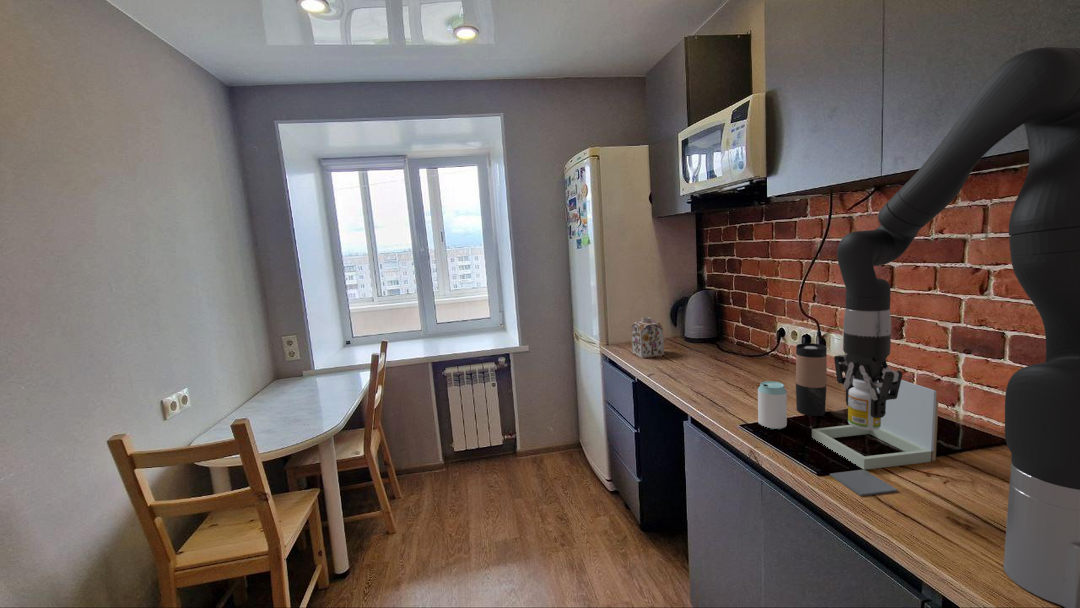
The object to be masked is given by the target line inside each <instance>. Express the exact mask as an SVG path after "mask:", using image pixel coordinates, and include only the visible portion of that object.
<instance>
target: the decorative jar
mask: <svg viewBox="0 0 1080 608" xmlns="http://www.w3.org/2000/svg"><path fill="white" fill-rule="evenodd" d="M630 327H631V329H630V331H631V333H630V334H631V350H632V351H631V352H632V354H633V355H635V354H636V356H637V357H638V358H641V359H647V357H648V358H654V357H655V356H656V357H663V356H662V355H664V356H665V341H664V340H665V339H664V328H663V326H662V324H661V323H660V321H657V320H654V319H652V317H649V316H644V317H643V316H642V317H641V318H640V320H637V321H635V322H633V324H632V325H631V326H630Z"/></svg>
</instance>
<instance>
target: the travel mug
mask: <svg viewBox="0 0 1080 608" xmlns="http://www.w3.org/2000/svg"><path fill="white" fill-rule="evenodd" d="M795 346H796V347H795V397H796V398H795V399H796V400H795V403H796V411H797V412H798V413H800V414H801V415H805V416H808V417H809V416H810V417H820V416H824V415H825V414H826V405H827V403H826V400H827V382H828V381H827V379H828V378H827V376H828V375H827V366H828V365H827V356H828V355H827V352H828V351H827V350H828V349H827V346H826V345H824V344H820V343H810V342H808V343H807V342H806V343H805V342H804V343H798V344H796V345H795Z"/></svg>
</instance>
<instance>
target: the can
mask: <svg viewBox="0 0 1080 608" xmlns="http://www.w3.org/2000/svg"><path fill="white" fill-rule="evenodd" d="M787 399H788V392H787V389H786V388H785V384H783V383H782V382H779V381H770V380H766V381H762V382H760V385H759V387H758V388H757V422H758V425H760V426H762V427H763V426H764V427H763V428H765V427H767V428H766V429H768V428H770V429H769V430H774V429H778V430H782V429H784V428H786V427H787V424H788V418H787V417H788V413H787V412H788V410H787V408H788V407H787V406H788V400H787Z"/></svg>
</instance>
